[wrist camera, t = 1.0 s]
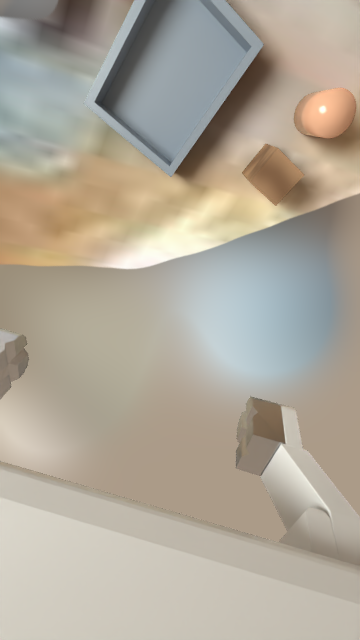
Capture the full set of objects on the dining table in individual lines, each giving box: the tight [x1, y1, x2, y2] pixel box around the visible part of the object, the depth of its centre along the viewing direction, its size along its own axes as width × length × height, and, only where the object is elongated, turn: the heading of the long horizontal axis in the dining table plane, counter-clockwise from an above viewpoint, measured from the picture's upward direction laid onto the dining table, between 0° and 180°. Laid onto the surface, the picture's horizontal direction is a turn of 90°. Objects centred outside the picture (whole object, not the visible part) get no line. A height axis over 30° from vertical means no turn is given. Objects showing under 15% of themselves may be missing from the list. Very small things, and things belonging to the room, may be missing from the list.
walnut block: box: [242, 144, 304, 206], centre depth 44 cm, size 5×5×8 cm
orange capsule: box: [294, 88, 356, 138], centre depth 40 cm, size 5×5×8 cm
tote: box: [84, 0, 264, 177], centre depth 40 cm, size 18×14×5 cm
